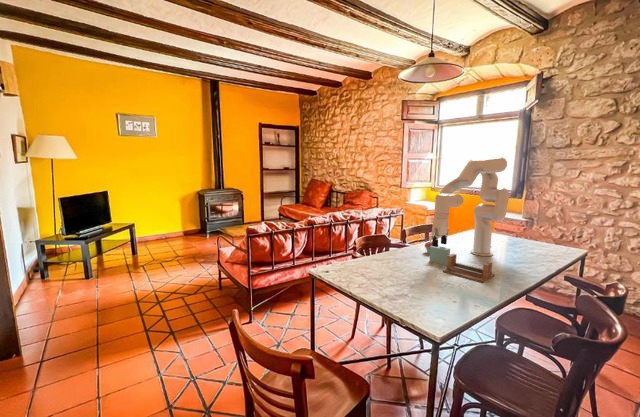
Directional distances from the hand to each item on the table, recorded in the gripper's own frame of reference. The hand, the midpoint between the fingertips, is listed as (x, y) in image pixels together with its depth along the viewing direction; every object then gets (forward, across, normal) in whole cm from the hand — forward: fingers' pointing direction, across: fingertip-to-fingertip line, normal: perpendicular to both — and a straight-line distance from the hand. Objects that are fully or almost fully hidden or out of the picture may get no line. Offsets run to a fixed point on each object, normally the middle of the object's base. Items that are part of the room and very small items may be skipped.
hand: (439, 245), depth 171 cm
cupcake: (+10, -15, -13) cm, 22 cm away
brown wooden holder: (+10, +5, +19) cm, 22 cm away
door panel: (+10, -1, 0) cm, 10 cm away
